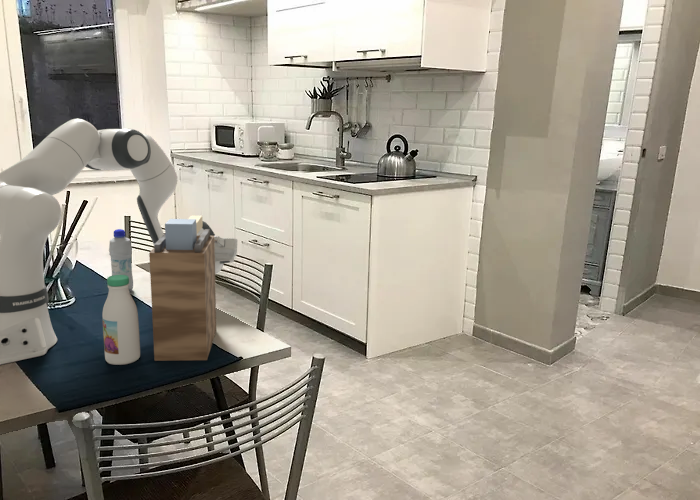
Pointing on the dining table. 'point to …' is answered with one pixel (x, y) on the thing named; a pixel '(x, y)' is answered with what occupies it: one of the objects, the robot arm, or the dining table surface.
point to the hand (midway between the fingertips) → (199, 238)
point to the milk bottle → (120, 323)
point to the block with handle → (182, 233)
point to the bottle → (121, 256)
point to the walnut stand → (183, 299)
